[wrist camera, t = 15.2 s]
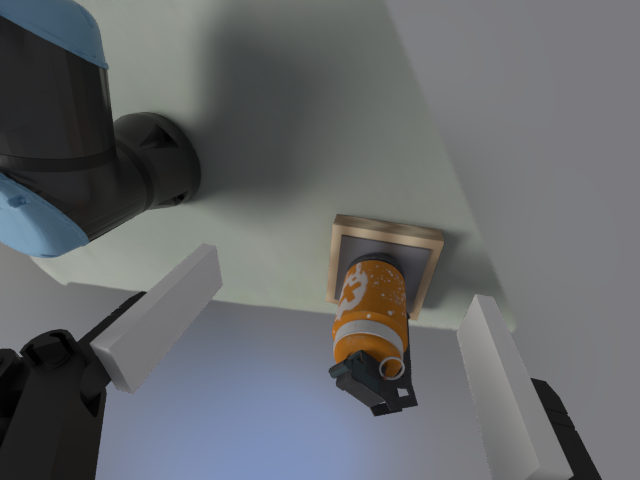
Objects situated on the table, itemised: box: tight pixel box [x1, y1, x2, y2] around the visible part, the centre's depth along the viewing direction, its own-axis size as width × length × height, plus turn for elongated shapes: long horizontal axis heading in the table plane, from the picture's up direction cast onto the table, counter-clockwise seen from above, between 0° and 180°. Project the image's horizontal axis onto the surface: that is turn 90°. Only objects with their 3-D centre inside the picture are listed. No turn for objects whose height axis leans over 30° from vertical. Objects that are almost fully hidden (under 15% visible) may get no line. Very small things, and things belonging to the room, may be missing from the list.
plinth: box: [326, 214, 444, 321], centre depth 45 cm, size 16×16×4 cm
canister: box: [329, 254, 418, 416], centre depth 35 cm, size 9×11×20 cm
